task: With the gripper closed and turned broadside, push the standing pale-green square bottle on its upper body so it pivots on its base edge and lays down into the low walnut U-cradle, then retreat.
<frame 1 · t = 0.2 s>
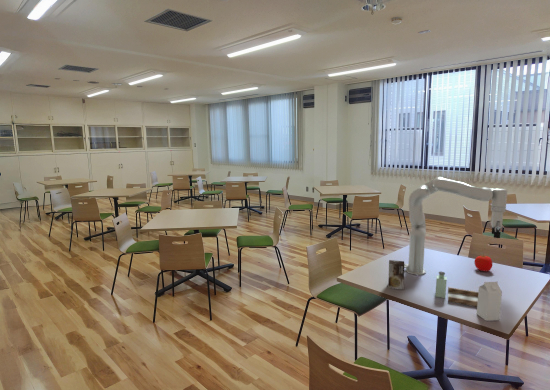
hand: (495, 235, 206), 31 cm above the table, fingers open, 9 cm apart
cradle: (465, 299, 189), on the table
bottle: (440, 295, 195), on the table
tomato: (483, 270, 233), on the table
milk carton: (487, 317, 170), on the table
coffee box: (395, 287, 207), on the table
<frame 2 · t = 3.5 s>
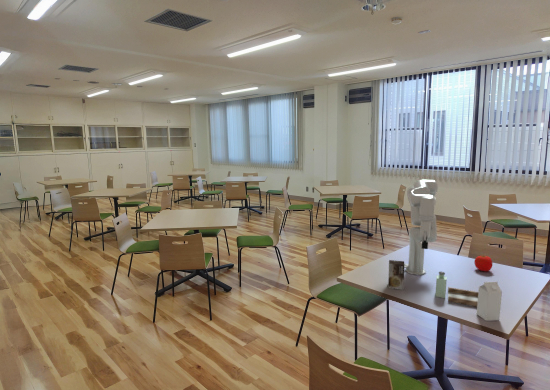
hand: (424, 248, 196), 27 cm above the table, fingers closed
nothing on the table moved.
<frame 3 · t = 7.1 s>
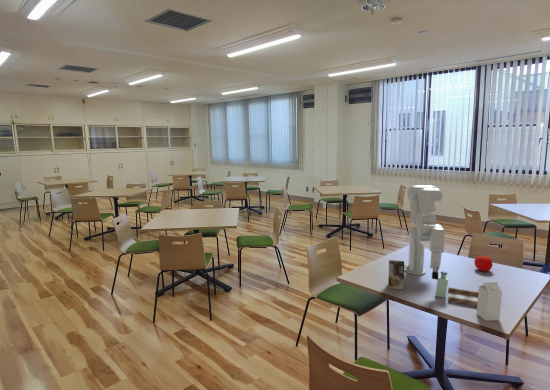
hand: (434, 278, 195), 10 cm above the table, fingers closed
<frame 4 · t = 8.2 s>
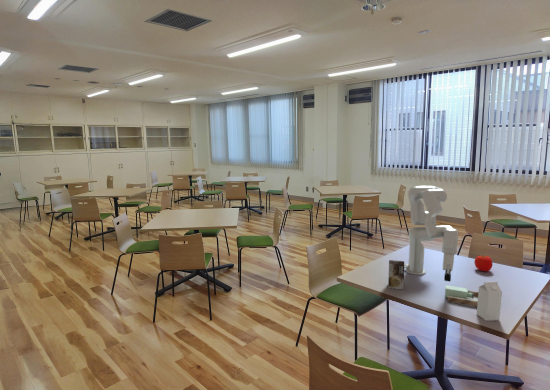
hand: (447, 280, 192), 10 cm above the table, fingers closed
bottle: (445, 290, 194), point 3 cm above the table, tilted 90°, touching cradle
everything else where it was.
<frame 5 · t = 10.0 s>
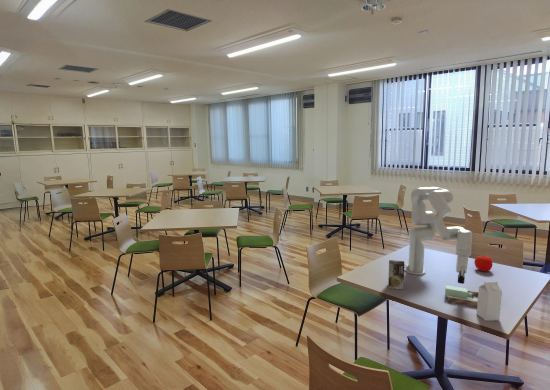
hand: (460, 282, 189), 10 cm above the table, fingers closed
nothing on the table moved.
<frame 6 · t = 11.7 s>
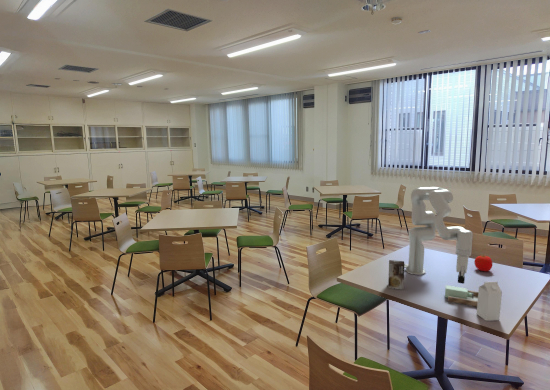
hand: (460, 282, 189), 10 cm above the table, fingers closed
nothing on the table moved.
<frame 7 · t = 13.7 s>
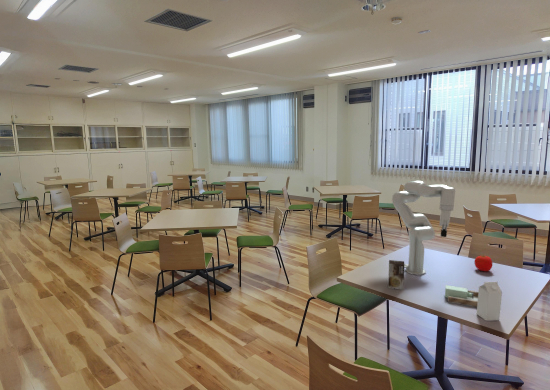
hand: (443, 236, 205), 32 cm above the table, fingers closed
nothing on the table moved.
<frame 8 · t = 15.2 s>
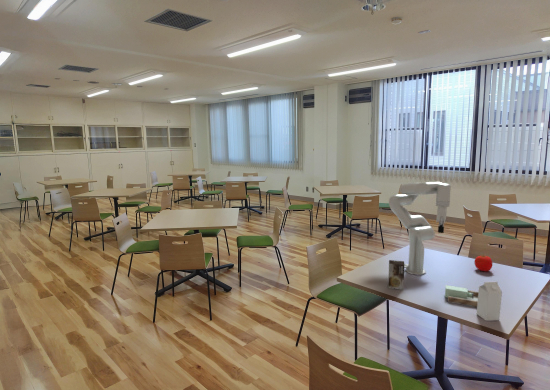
hand: (440, 232, 208), 33 cm above the table, fingers closed
nothing on the table moved.
at the end: bottle tilted 90°; bottle inside the target area on the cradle (7.1 cm from its centre), point 3.2 cm above the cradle's base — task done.
